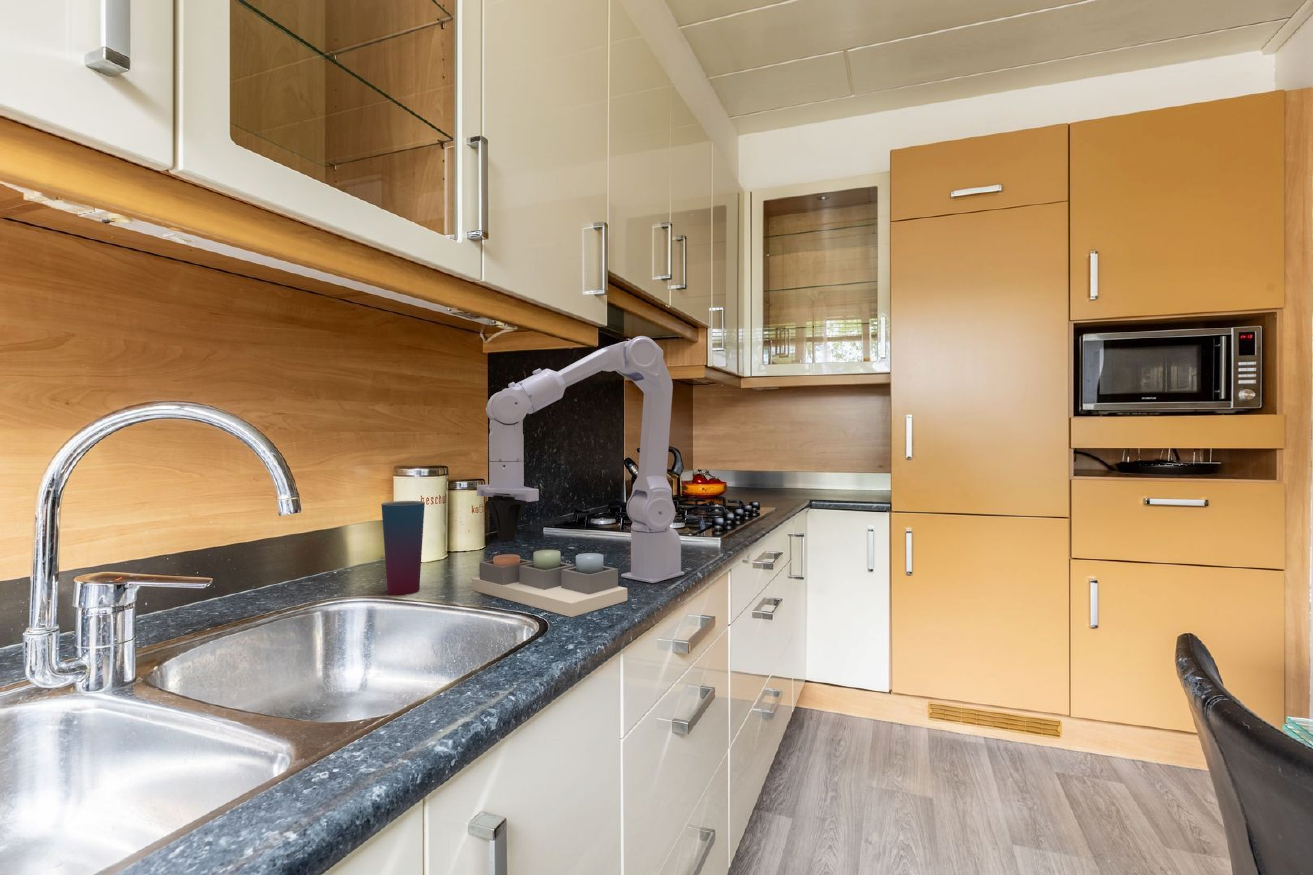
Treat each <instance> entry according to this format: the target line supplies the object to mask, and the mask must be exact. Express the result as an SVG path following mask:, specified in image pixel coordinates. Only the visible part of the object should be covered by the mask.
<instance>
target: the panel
mask: <svg viewBox="0 0 1313 875" xmlns="http://www.w3.org/2000/svg"><path fill="white" fill-rule="evenodd" d="M471 590H472V591H473V592H478V593H482V594H485V595H489V596H492V597H496V598H500V599H503V600H507V601H510V602H515V603H518V604H522V605H525V606H529V607H532V608H537V609H541V610H544V611H548V612H551V613H554V614H558V615H563V616H566V617H569V618H574V617H576V616H580V615H584V614H587V613H591V612H593V611H597V610H601V609H604V608H607V607H610V606H614V605H617V604H621V603H625V602H628V587H623V586H619V569H618V568H615V567H611V566H610V567H609V566H605V565H603V571H602V572H597V573H592V574H585V573H580V572H576V564H570V563H565V562H561V561H560V567H559V568H554V569H549V570H541V569H536V568H534V560H533V561H532V560H528V559H523V558H522V559H521V558H520V563H519V564H514V565H509V566H504V567H503V566H499V565H494V564H493V559H491V560H487V561H485V560H484V561H481V562H479V576H476V577H472V578H471Z"/></svg>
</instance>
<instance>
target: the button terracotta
mask: <svg viewBox="0 0 1313 875" xmlns="http://www.w3.org/2000/svg"><path fill="white" fill-rule="evenodd" d="M520 559H521V556H520V555H519V554H511V553H508V554H507V553H505V554H498V555H494V556H493V559H492V560H493V564H494V565H499V566H503V567H504V566H509V565H514V564H519V563H520Z"/></svg>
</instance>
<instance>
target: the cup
mask: <svg viewBox="0 0 1313 875" xmlns="http://www.w3.org/2000/svg"><path fill="white" fill-rule="evenodd" d="M425 503H426V502H425V501H422V500H397V501H396V500H395V501H386V502H383V503H381V515H382V518H381V519H382V531H383V547H384V560H385V561H384V562H385V563H384V564H385V573H386V574H385V575H386V577H385V578H386V588H387V589H386V591H387V594H388V595H391V596H405V595H413V594H416V593H417V592H419V591H420V588H421V587H420V583H421V572H422V571H421V570H422V555H423V554H422V552H423V550H422V549H423V537H424V522H425V521H424V520H425V518H424V517H425V505H426V504H425Z"/></svg>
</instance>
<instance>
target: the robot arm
mask: <svg viewBox="0 0 1313 875" xmlns="http://www.w3.org/2000/svg"><path fill="white" fill-rule="evenodd" d="M601 371H603V372H613V371H615V372H617V374H619V375H621V376H622V377H624V378H626V379H628V380H630V381H632V382H633V383H634V385H636V386H637V387H638V388H639V389H640V390H641V391H642V393H643V400H642V401H643V404H642V415H641V416H642V417H641V431H640V444H639V445H640V446H639V457H638V458H639V460H638V471H637V472H638V474H637V477H636V479H635V481H634V482H633V484H632V491H631V495H630V497H629V498H628V500H627V503H626V508H625V509H626V514H627V516H628V519H630V521H632V523H631V526H630V571H629V572H624V573H622V574H620V577H621V578H624V579H629V580H635V581H640V582H646V583H651V584H654V583H659V582H662V581H664V580H665V581H666V580H670V579H672V578H677V577H680V576H684V575H685V571H682V542H681V537H680V535H679V533H678V531H677V530H676V529H674V528H673V527H670V526H671V525H672V524H673V522H674V520H675V516H676V507H675V503H674V502H673V497H672V496H673V489H672V486H671V485H670V482H669V481H668V478H667V474H668V472H667V471H668V461H669V460H668V459H669V444H670V432H671V419H672V418H671V417H672V404H673V389H674V386H673V385H674V384H673V380H672V378H671V374H670V372H669V370H668V368H667V365H666V362H665V360H664V350H663V349H662V348H661V347H660V346H659V345H658V344H657V343H656V342H655V341H654V340H653V339H652V338H650V337H648V336H644V335H640V336H636V337H634V338H632V339H630V340H628V341H627V340H626V341H622V342H618V343H615V344H611V345H609V346H605V347H602V348H600V349H598V350H595V351H594V352H592V353H590V354H588V355H587V356H585V357H583V358H580V359H579V360H577V361H575V362H574V363H572V364H569V365H568V366H566V367H564V368H562V369H560V370H558V371H555V370H552V369H550V368H545V369H543V370H542V369H541V368H538V369H535V370H533V371H532V374H533V375H531V376H528V377H527V378H525V379H523V380H521V381H518V382H517V383H515V382H514V381H512V382H510V383H508V386H507V387H508V388H504V389H502V390H501V391H498V392H496V393H494V394H493V395H491V396H490V399H488V401H487V404H486V407H485V411H486V416H487V417H488V418H489V425H488V426H489V434H488V472H489V474H488V476H489V477H488V480H489V482H488V484H477V485H476V496H477V497H489V498H490V497H492V498H491V500H486V501H485V506H486V507H487V509H488V511H489V512H490V515H491V517H492V519H493V522H494V525H495V529H496V532H497V533H496V534H497V536H498V540H499V542H500V543H509V542H514V541H515V538H516V534H517V529H518V527H519V522H520V520H521V517H522V515H523V513H524V510H525V509H526V507H527V506H528V502H529V503H531V502H538V501H539V499H540V497H539V496H540V494H539V493H540V492H539V488H532V487H528V486H524V484H525V483H524V482H525V478H524V477H525V476H524V474H525V473H524V472H525V471H524V470H525V469H524V467H525V466H524V465H525V462H524V460H525V458H524V444H525V443H524V441H525V440H524V433H523V432H524V430H523V429H524V427H523V423H524V419H525V418H526V415H527V414H529V415H531V414H534V413H536V412H538V411H539V410H541V409H543V408H545V407H547V406H549V405H551V404H553V403H555V402H556V401H558V400H561V399H562V398H563V396H564V393H565V390H566V388H567V387H569V386H572V385H573V384H576V383H577V382H580V381H582V380H584V379H586V378H589V377H590V376H593V375H596V374H597V373H599V372H601Z"/></svg>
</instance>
